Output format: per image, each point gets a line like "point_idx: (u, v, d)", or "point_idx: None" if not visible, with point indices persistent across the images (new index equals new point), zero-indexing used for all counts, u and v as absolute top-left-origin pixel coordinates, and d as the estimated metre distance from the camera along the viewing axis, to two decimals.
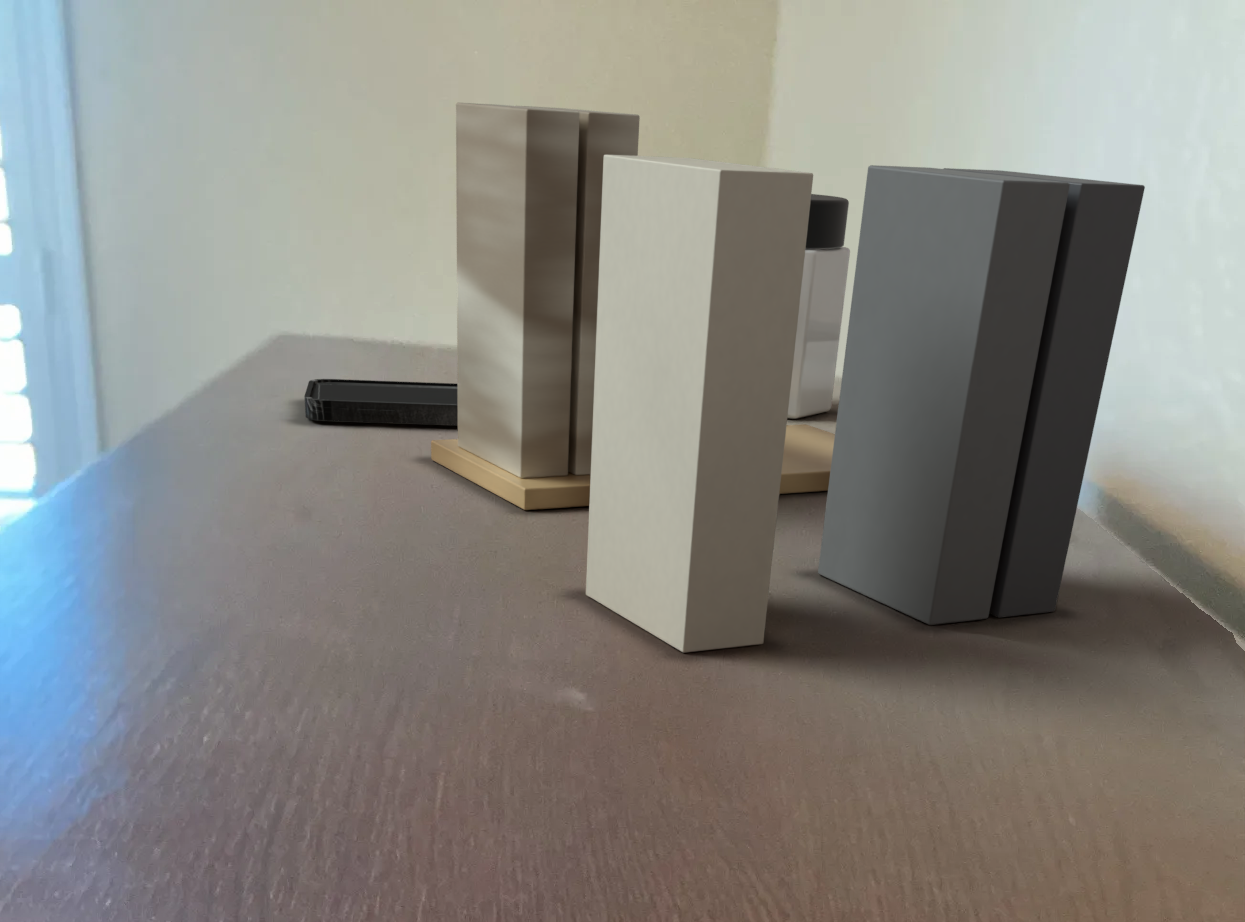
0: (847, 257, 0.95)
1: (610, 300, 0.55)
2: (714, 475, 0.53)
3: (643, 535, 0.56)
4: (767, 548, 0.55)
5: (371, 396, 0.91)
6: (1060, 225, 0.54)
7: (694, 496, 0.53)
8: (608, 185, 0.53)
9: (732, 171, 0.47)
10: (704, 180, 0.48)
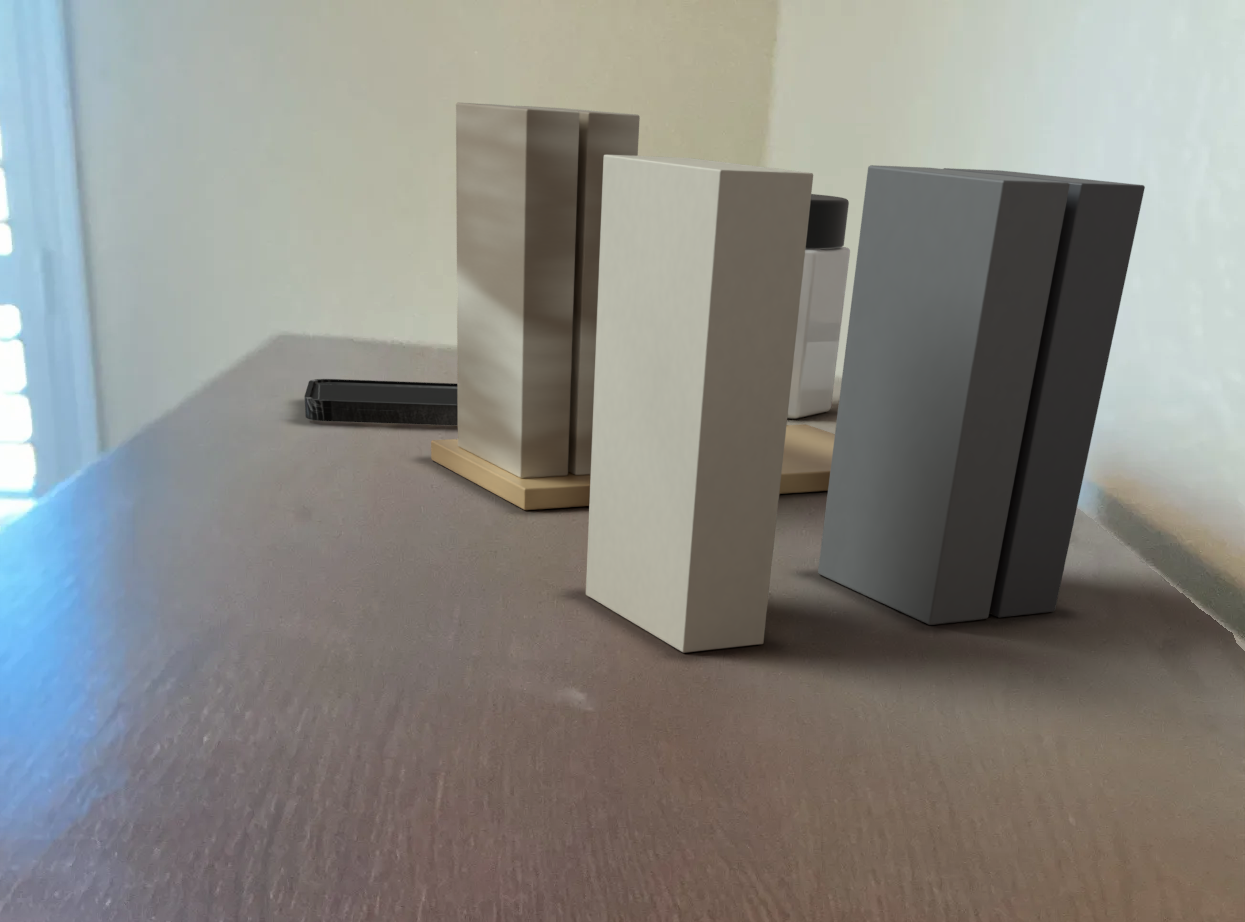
0: (847, 257, 0.95)
1: (610, 300, 0.55)
2: (714, 475, 0.53)
3: (643, 535, 0.56)
4: (767, 548, 0.55)
5: (371, 396, 0.91)
6: (1060, 225, 0.54)
7: (694, 496, 0.53)
8: (608, 185, 0.53)
9: (732, 171, 0.47)
10: (704, 180, 0.48)
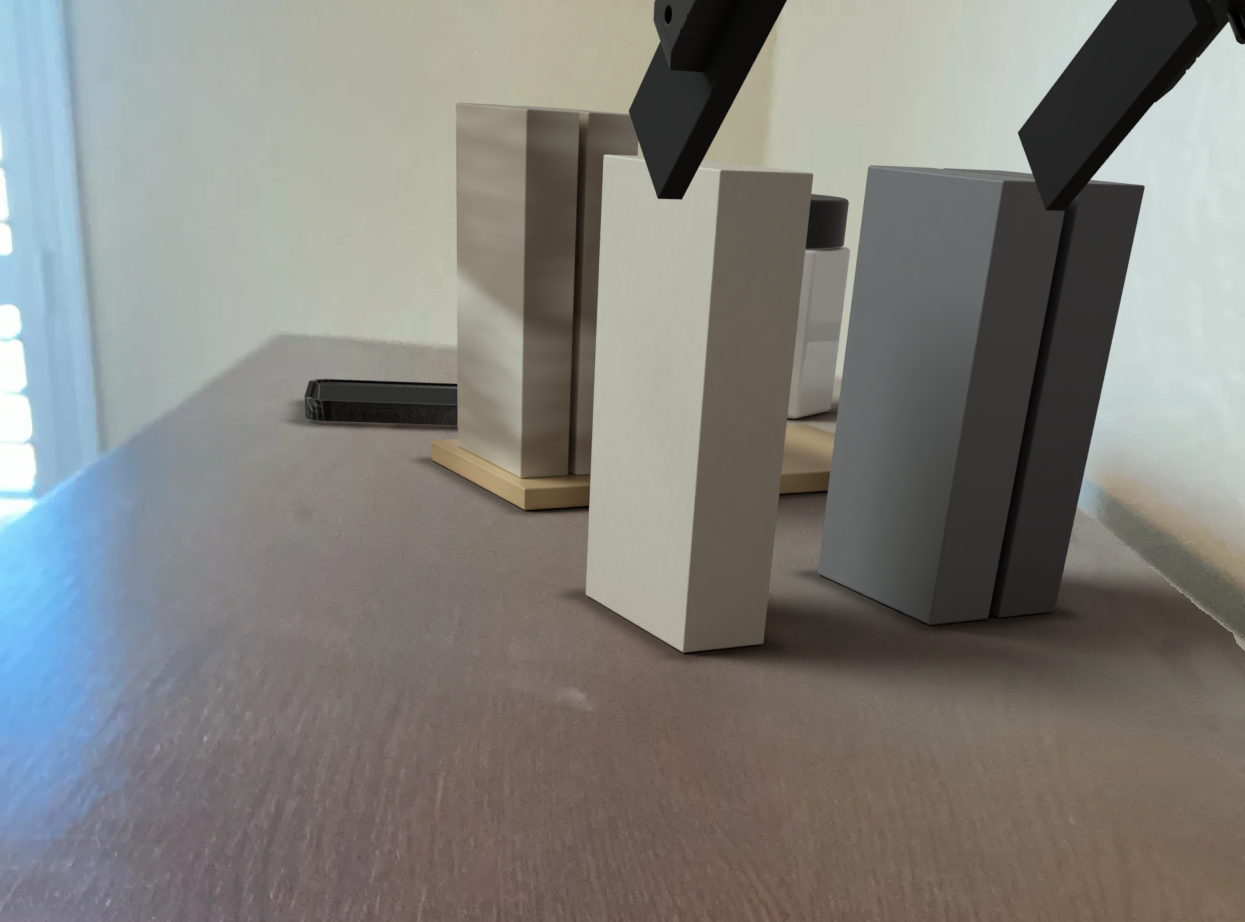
0: (847, 257, 0.95)
1: (610, 300, 0.55)
2: (714, 475, 0.53)
3: (643, 535, 0.56)
4: (767, 548, 0.55)
5: (371, 396, 0.91)
6: (1060, 225, 0.54)
7: (694, 496, 0.53)
8: (608, 185, 0.53)
9: (732, 171, 0.47)
10: (704, 180, 0.48)
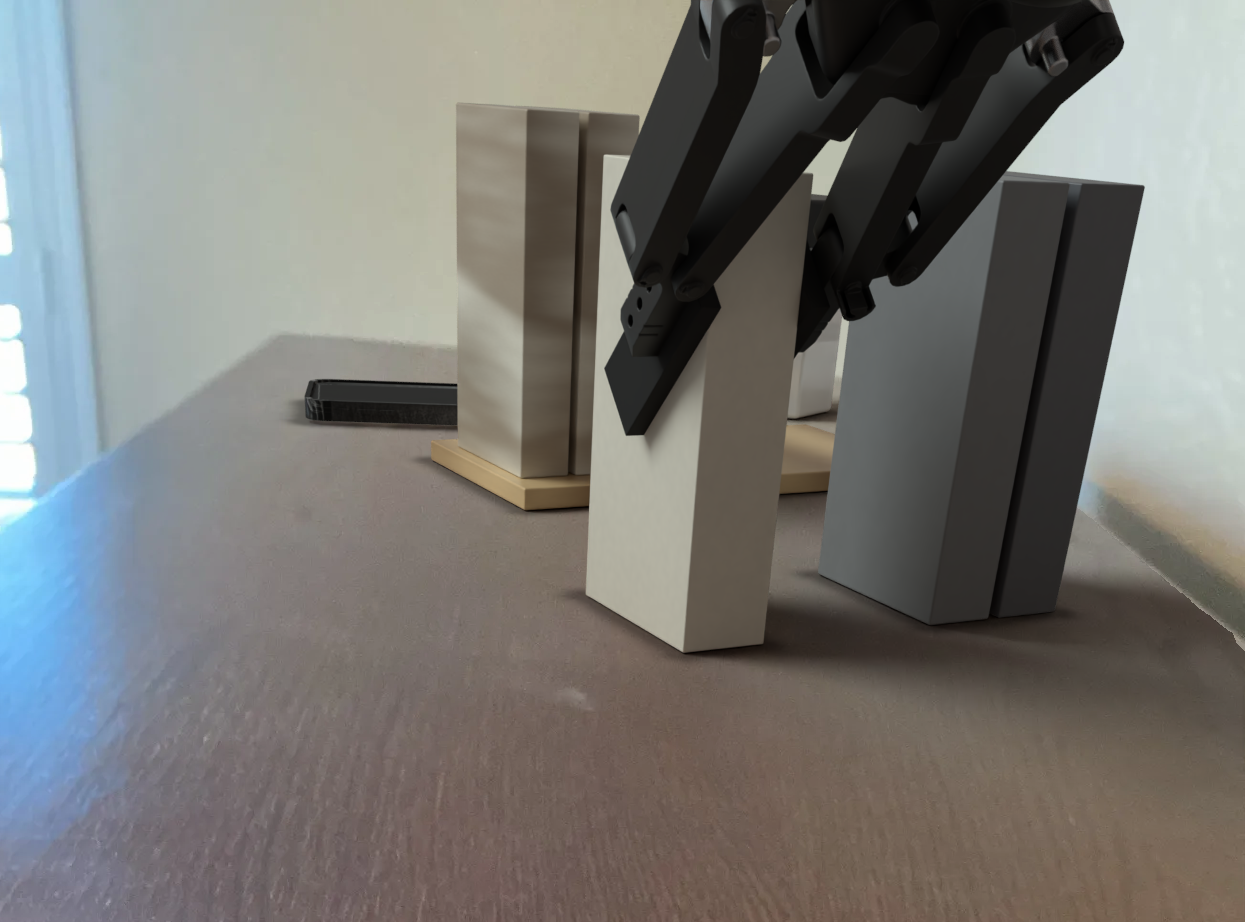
0: None
1: (610, 300, 0.55)
2: (715, 475, 0.53)
3: (643, 535, 0.56)
4: (767, 548, 0.55)
5: (371, 396, 0.91)
6: (1060, 225, 0.54)
7: (694, 496, 0.53)
8: (608, 185, 0.53)
9: None
10: None
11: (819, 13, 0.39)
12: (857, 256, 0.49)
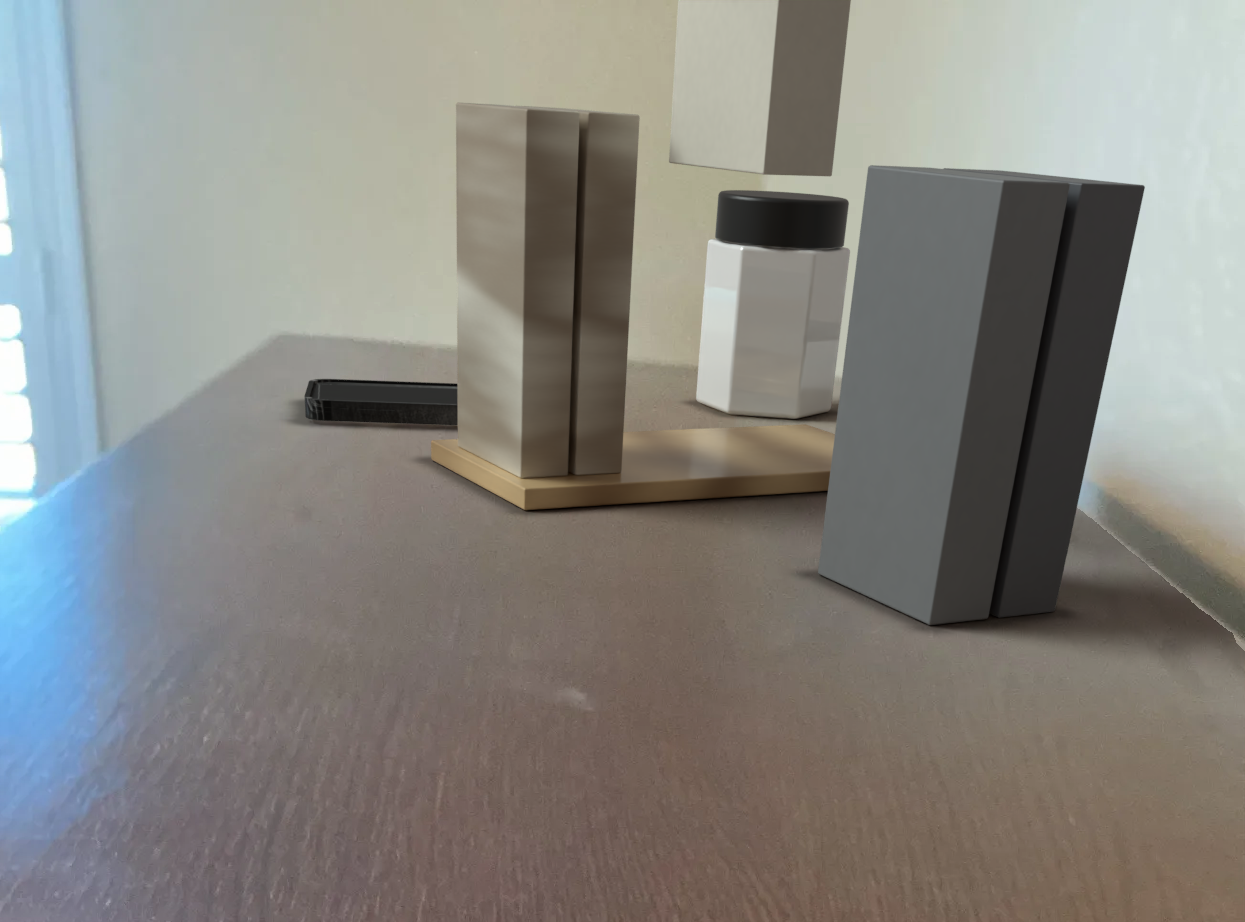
0: (847, 257, 0.95)
1: None
2: None
3: (726, 76, 0.64)
4: (837, 77, 0.63)
5: (371, 396, 0.91)
6: (1060, 225, 0.54)
7: (776, 14, 0.61)
8: None
9: None
10: None
11: None
12: None
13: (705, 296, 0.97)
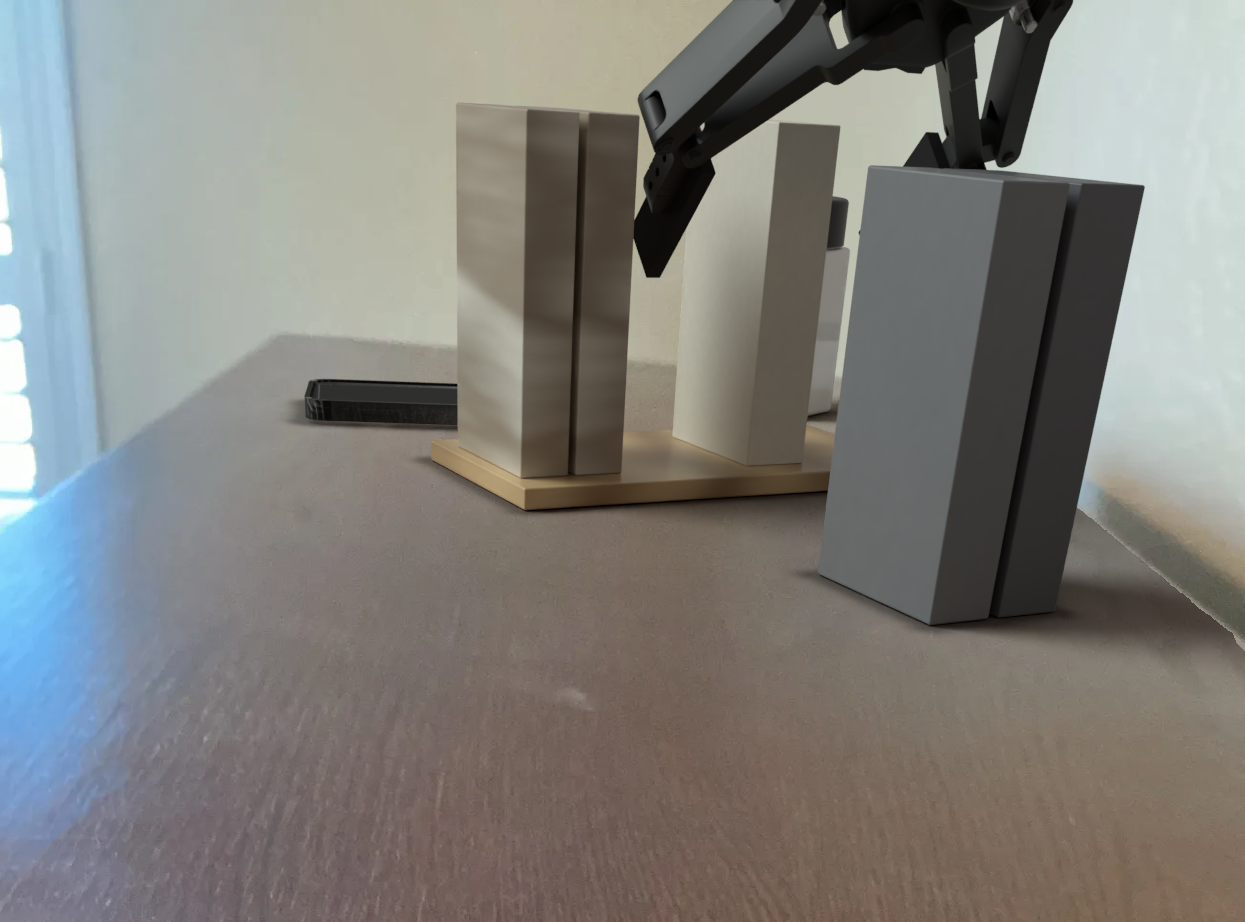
0: (847, 257, 0.95)
1: (696, 218, 0.78)
2: (771, 336, 0.76)
3: (718, 385, 0.80)
4: (806, 391, 0.79)
5: (371, 396, 0.91)
6: (1060, 225, 0.54)
7: (756, 351, 0.76)
8: None
9: (787, 123, 0.71)
10: (767, 130, 0.72)
11: (850, 14, 0.63)
12: (961, 152, 0.72)
13: None
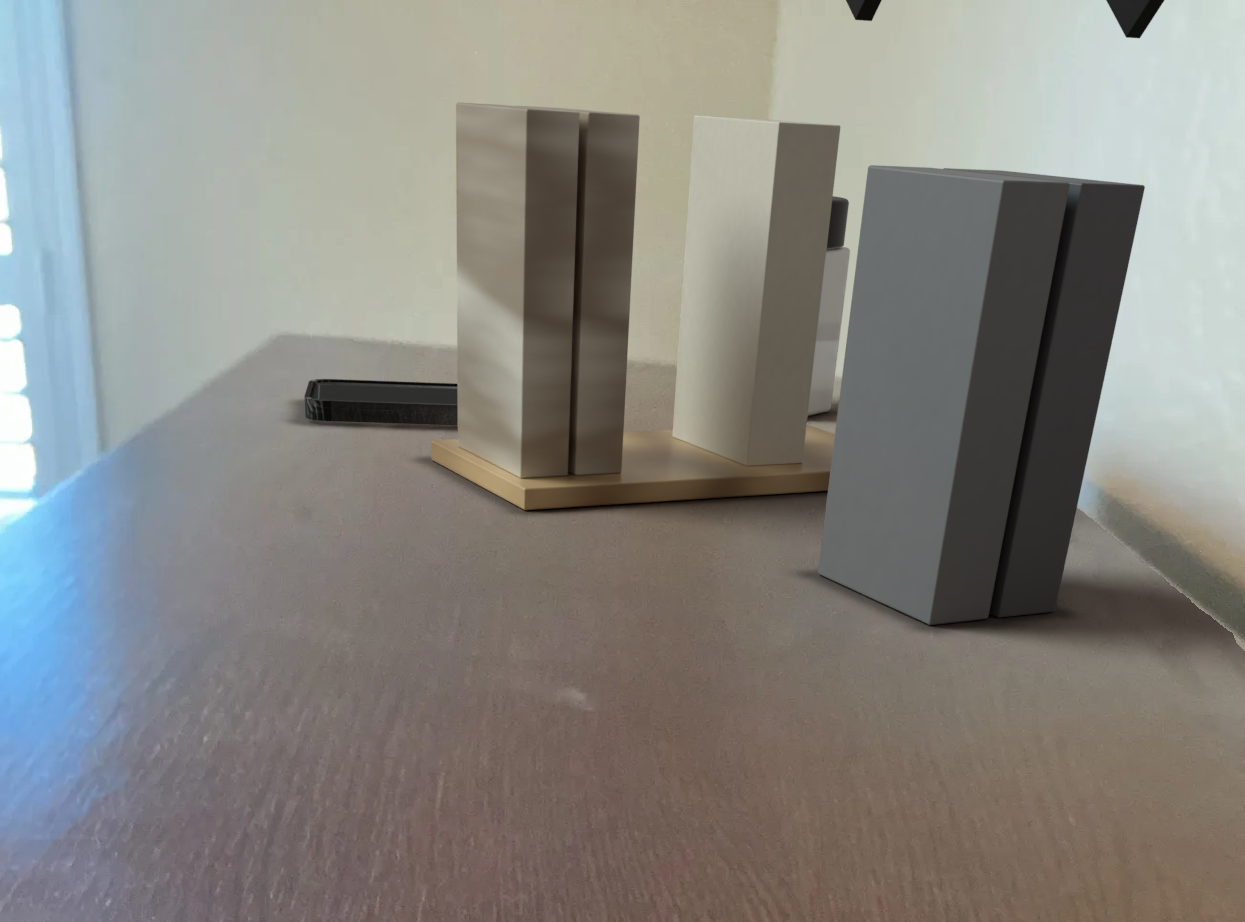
0: (847, 257, 0.95)
1: (696, 218, 0.78)
2: (771, 336, 0.76)
3: (718, 385, 0.80)
4: (806, 391, 0.79)
5: (371, 396, 0.91)
6: (1060, 225, 0.54)
7: (756, 351, 0.76)
8: (697, 136, 0.77)
9: (787, 123, 0.71)
10: (767, 130, 0.72)
11: None
12: None
13: None
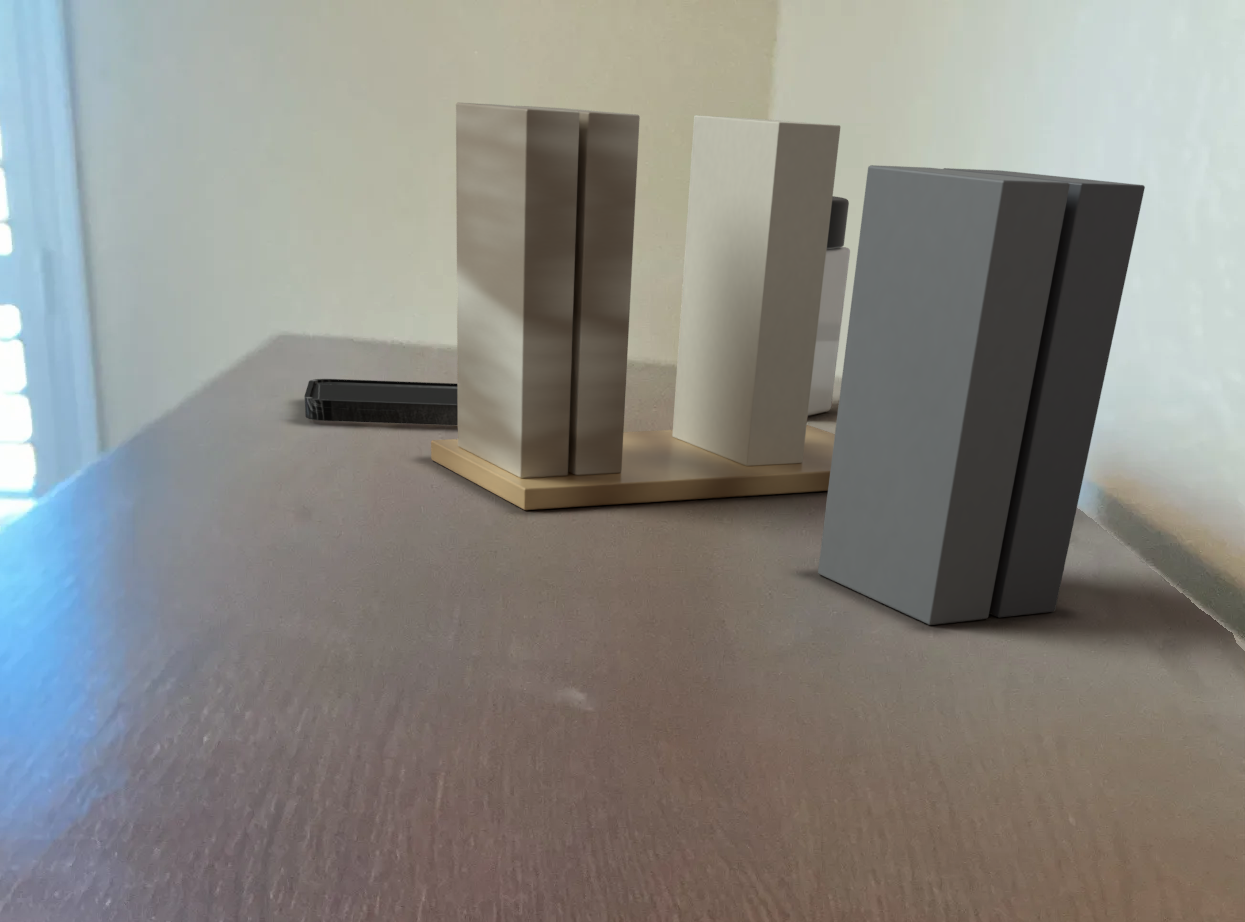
0: (847, 257, 0.95)
1: (696, 218, 0.78)
2: (771, 336, 0.76)
3: (718, 385, 0.80)
4: (806, 391, 0.79)
5: (371, 396, 0.91)
6: (1060, 225, 0.54)
7: (756, 351, 0.76)
8: (697, 136, 0.77)
9: (787, 123, 0.71)
10: (767, 130, 0.72)
11: None
12: None
13: None
